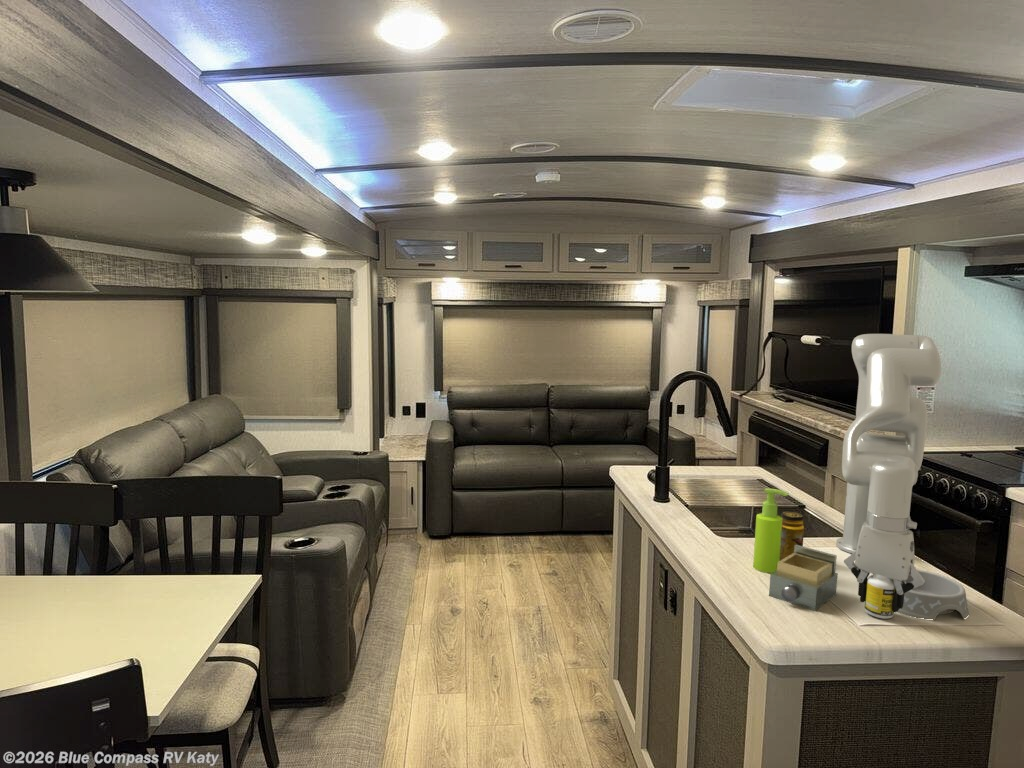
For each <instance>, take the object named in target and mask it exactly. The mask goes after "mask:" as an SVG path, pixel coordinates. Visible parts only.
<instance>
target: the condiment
mask: <svg viewBox="0 0 1024 768" xmlns="http://www.w3.org/2000/svg"><path fill="white" fill-rule="evenodd" d="M780 517H781V518H782V530H781V544H780V558H779V561H781V560H782V559H784V558H786V557H787V556H789V555H791V554H792V553H794V546H795V545H800V546H803V547H804V534H805V526H804V516H803V515H802V514H800V513H798V512H795V511H783V512H781V513H780Z"/></svg>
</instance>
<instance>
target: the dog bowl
mask: <svg viewBox="0 0 1024 768" xmlns="http://www.w3.org/2000/svg"><path fill="white" fill-rule="evenodd" d="M916 569H917V571H918V572H919V573H920V575H921V576H922V577H923V579H924V580H925V583H924V584H923V585H921V586H918V587H916V588H913V589H912V590H910V591H908V592H906V593H904V603H903V608H902V609H901V608H900V609H899V610H898V611H897V612H896V613H898V614H901V615H905V616H908V617H910V616H911V617H912V618H914V617H916V618H915V619H918V618H924V619H933V620H934V621H935V620H936V618H937V616H938V615H946V614H949V613H953V612H954V611H955V610H956V611H957V612H959V614H960V615H961V616H962V619H963V620H964V618H966V617H967V616H968V615H969V616H970V611H969V610H970V609H969V606H968V599H967V598H968V597H967V593H966V589H965V587H964V586H963V585H962V584H961V583H959V582H957V581H956V580H954V579H953V578H950V577H949V576H945V575H942V574H939V573H935V572H932V571H928V570H924V569H919V568H916ZM913 580H914V579H913V577H912V576H908V579H907V580H906V581H905V582H906V583H908V582H911V581H913Z"/></svg>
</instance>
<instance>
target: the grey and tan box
mask: <svg viewBox="0 0 1024 768" xmlns="http://www.w3.org/2000/svg"><path fill="white" fill-rule="evenodd" d="M837 558H838V557H837V555H836V554H833V553H829V552H825V551H822V550H817V549H815V548H810V547H806V546H804V545H803V546H800V545H795V546H794V553H792V554H791V555H789V556H787V557H786V558H784V559H782V560H781V561H779V562H778V564H777V570H776V571H775V572H773V573H769V574H770V576H769V592H768V596H770V597H773V598H775V599H778V600H781V601H784V602H787V603H790V604H792V605H796V606H799V607H801V608H805V609H808V610H811V611H813V612H815V611H817V610H819V609H820V608H821V607H822V606H824V605H825V604H827V602H829V601H830V600H831V599H832V598H834V597H835V596H837V587H838V586H837V585H838V572H836V570H837V560H838V559H837Z"/></svg>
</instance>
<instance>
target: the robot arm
mask: <svg viewBox="0 0 1024 768" xmlns="http://www.w3.org/2000/svg"><path fill="white" fill-rule="evenodd" d="M851 355H852V359H853V362H854V365H855V368H856V370H857V374H858V386H857V388H858V389H857V397H856V398H857V399H856V408H855V419H854V420H853V421H852V422H851V424H850V425H849V427H848V428H847V430H846V432H845V434H844V437H843V440H842V441H843V442H842V455H841V456H842V458H841V472H842V474H841V475H842V477H843V479H844V480H845V482H846V496H845V507H844V509H845V510H844V520H843V521H844V522H843V533H842V537H839V538H837V539H836V540H835V541H836V542H835V545H836V548H839V549H840V550H842V551H844V552H846V553H849V554H851V555H850V556H848V557H846V558H845V559H844V560H843V563H844V565H845V566H846V567H847V568H848V569H849V570H850V571H851V572H850V573H852V575H853V576H854V577H855V578H856V581H857V583H858V591H857V595H858V596H859V603H860V602H861V603H865V598H866V589H867V580H868V577H869V576H870V574H871V575H873V574H878V575H882V576H884V577H887V578H890V579H893V580H894V584H895V587H896V592H895V593H894V594H893V604H892V611H893V612H894V614H895V613H898V612H897V611H898V610H899V609H900V608H901V609H902V608H903V603H904V593H906V592H908V591H910V590H912V589H913V588H916V587H918V586H921V585H923V584H924V583H925V580H924V579H923V577H922V576H921V575H920V573H919V572H918V571H917V569H918V568H916V567H915V542H914V541H915V540H914V532H913V531H912V530H910V529H913V530H917V526H918V523H917V522H916V521H913V520H912V519H911V516H910V512H911V503H912V493H913V486H915V485H916V483H917V481H918V478H919V470H920V469H921V466H922V462H923V459H924V454H925V453H924V451H925V444H926V436H927V435H926V434H927V427H928V426H927V425H928V417H929V416H928V408H927V405H926V402H925V401H924V400H923V399H922V398H919V397H916V396H910V386H916V387H918V386H919V387H933V386H935V385H936V384H937V383H938V382H939V380H940V377H941V373H942V361H941V356H940V353H939V350H938V348H937V345H936V344H935V342H934V340H933V339H932V337H930V336H927V335H920V334H919V335H918V334H893V333H866V334H865V333H864V334H860V335H857V336H856V337H854V338H853V340H852V343H851ZM868 431H877V432H888V433H889V432H890V433H900V434H902V435H897V434H896V435H895V434H893V435H892V434H885V433H884V434H883V433H873V432H872V433H871V432H868ZM908 576H912V577H913V579H914V580H913V581H911V582H908V583H906V582H905V581H906V580H907V579H908Z"/></svg>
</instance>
